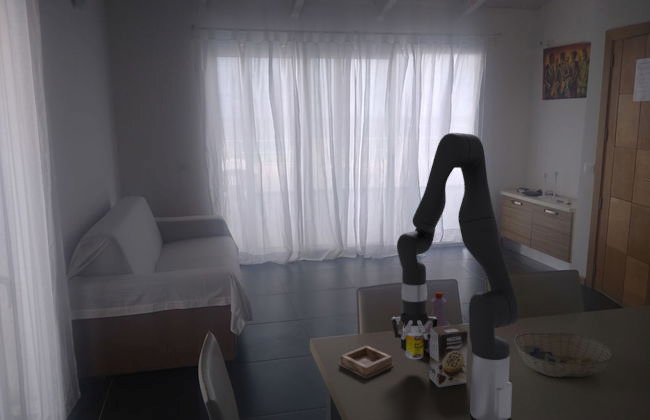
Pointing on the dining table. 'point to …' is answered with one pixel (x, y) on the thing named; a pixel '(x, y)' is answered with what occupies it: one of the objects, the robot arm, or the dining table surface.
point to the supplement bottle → (414, 343)
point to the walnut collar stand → (366, 361)
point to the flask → (437, 314)
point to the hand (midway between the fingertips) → (414, 349)
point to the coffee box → (448, 355)
